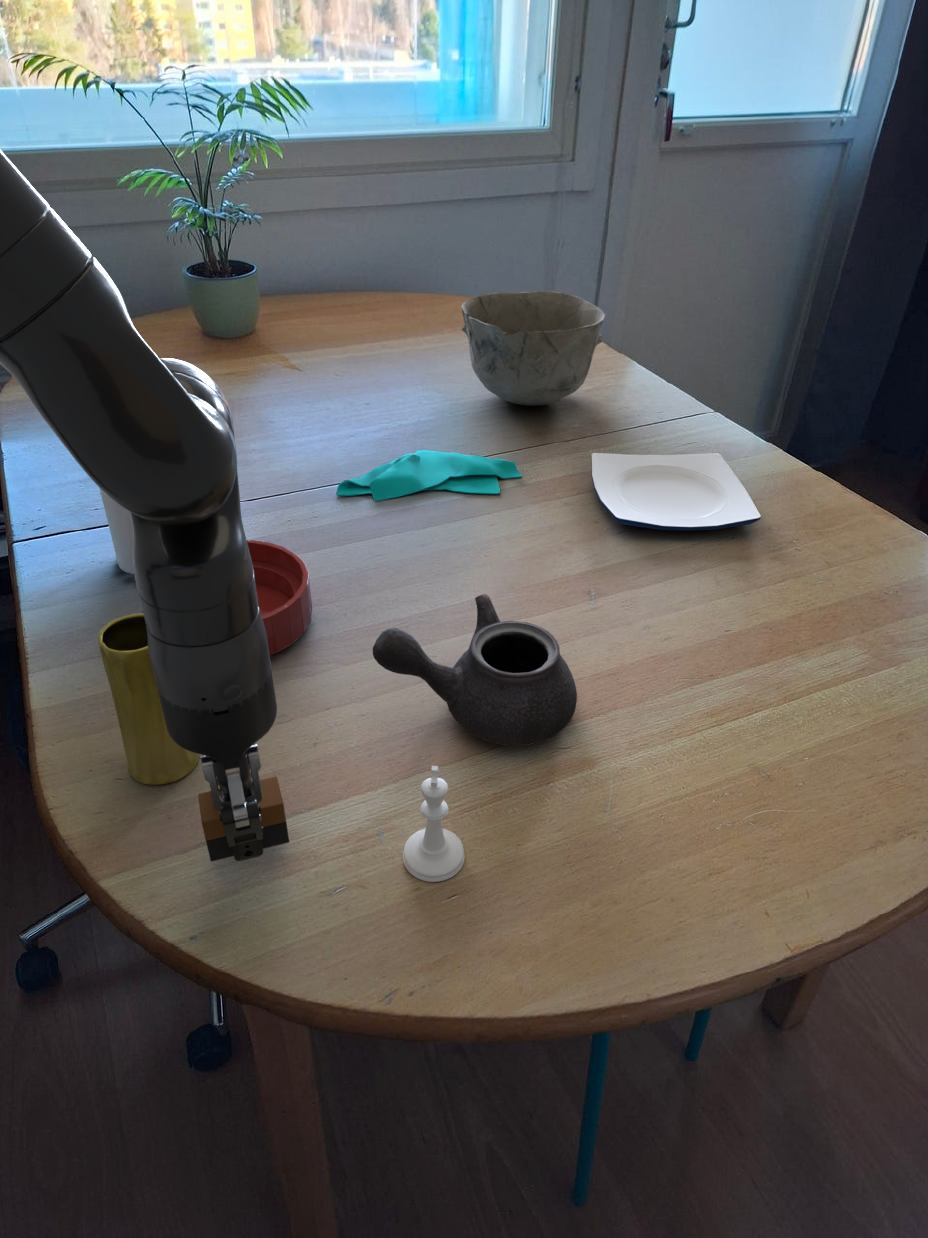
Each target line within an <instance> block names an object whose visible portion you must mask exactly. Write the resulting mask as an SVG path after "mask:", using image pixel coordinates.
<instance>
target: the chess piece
mask: <svg viewBox="0 0 928 1238" xmlns="http://www.w3.org/2000/svg"><path fill="white" fill-rule="evenodd" d="M430 772H431V775H430V777H429V778H427V779H425V780H423V782H422V783H421V786H420V791H421V794H422V796H423V798H424V801H423V802H422V803H421V805H420V807H419V811H420V814H421V816H422V817H423V818H424V819H426V823H425V828H421V829H419V830H418V831H415V832H414V833H413V834H411V836H409V837H408V838H407V840H406V842H405V845H404V847H403V852H402V861H403V865H404V868H405V869H406V870H407V871H408V873H409V874H410V875H412V876H413V877H415V878H416V879H419V880H421V881H424V882H431V883H438V882H443V881H446V880H449V879H451V878H453V877H455V876H456V875H457V874H458V872H460V871H461V869H462V868H463V866H464V864H465V860H466V859H465V858H466V854H465V848H464V845H463V842H462V841H461V838H460V837H459V836H458V835H456V834H455V833H454V832H452V831H450V830H449V829H446V828H444V827H443V823H442V820H443V819H444V818H445V817H447V815H448V814H449V806H448V803H447V802H446V801H445V800H444V799H445V797H446V795H447V793H448V791H449V785H448V783H447V782H446V780H445V779H443V778H441V777H438V775H439V766H438V765H431V770H430Z"/></svg>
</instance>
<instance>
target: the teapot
mask: <svg viewBox="0 0 928 1238" xmlns="http://www.w3.org/2000/svg"><path fill="white" fill-rule="evenodd" d="M474 600H475V604H476V626H475V628H474V631H473V635H472V637H471V640H470V642H469V647H468V648H467V650H466V651H465V652H464V653H463V654H462V655H461V656H460V658H459V659H457V662H456V663H455V664H454V666H453V667H451V666H446V665H443V664H439V663H437V662H435V661H433V660H432V659H431V658H430V657H429V656H428V655H427V654H426V652H425V651H424V650H423V648H422V646H421V645H420V643H419V642H418V641H417V640H416V639H415V637H414V636H413V635H412V634H410V633H408V632H406V631H404V630H402V629H401V628H397V627H390V628H387V629H385V630H383V631H382V632H381V633H380V635H379V636H378V637H377V638H376V640H375V642H374V644H373V646H372V656H373V659H374V661H376V662H377V664H378V665H379V666H381V667H382V668H384V669H385V670H387V671H389V672H392V673H394V674H398V675H407V676H414V677H418V678H419V679H421V680H423V681H424V682H425V683H426V684H427V685H428V687H430V689H431V690H433V692H434V693H435V694H436V695H438V697H440V698H441V699H442V700H443V701H444V702H445V703H446V705H447V708H448V711H449V714H451V716H452V717H453V719H454V720H455V722H456V723H457V724H458V725H460V727H461V728H462V729H463V730H465V731H466V732H467V733H469V734H471V735H472V736H474V737H476V738H478V739H481V740H483V741H486V742H489V743H490V744H491V743H492V744H496V745H502V746H510V747H511V746H512V747H513V746H514V747H516V746H527V745H534V744H538V743H541V742H543V741H546V740H548V739H550V738H552V737H554V736H556V735H558V734H559V733H560V732H562V731H563V730H564V729H565V728H566V726H567V725H568V724H569V723H570V722H571V721H572V719H573V716H574V714H575V712H576V708H577V703H578V702H577V701H578V693H577V691H578V690H577V687H576V686H577V685H576V682H575V679H574V676H573V674H572V671H571V669H570V667H569V665H568V664H567V662H566V660H565V659H564V657H563V656H562V655H561V652H560V651H561V650H560V645H559V642H558V640H557V639H556V638H555V636H554V635H553V634H551V632H549V630H547V629H545V628H543V627H541V626H540V625H538V624H534V623H531V622H527V621H518V620H506V621H505V620H503V621H501V620H500V618H499V616H498V613H497V611H496V609H495V607H494V604H493V602H492V599H491V598H490V596H489V595H488V594H486V593H484V594H480V595H477V596H476V597H475V598H474Z"/></svg>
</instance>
